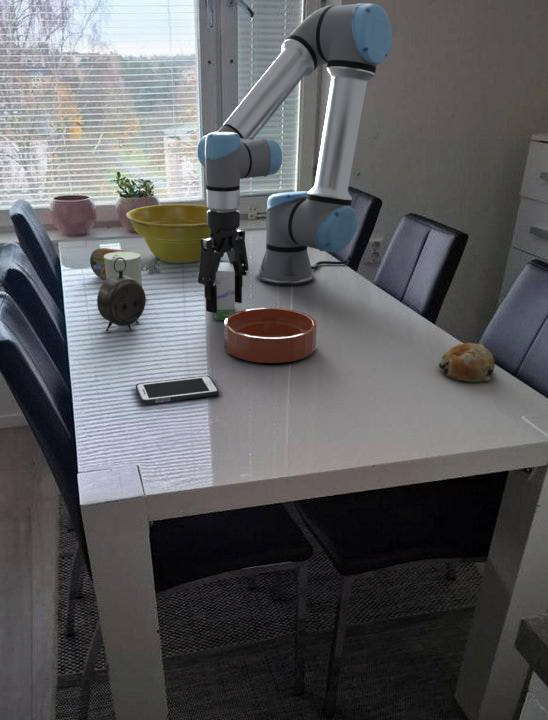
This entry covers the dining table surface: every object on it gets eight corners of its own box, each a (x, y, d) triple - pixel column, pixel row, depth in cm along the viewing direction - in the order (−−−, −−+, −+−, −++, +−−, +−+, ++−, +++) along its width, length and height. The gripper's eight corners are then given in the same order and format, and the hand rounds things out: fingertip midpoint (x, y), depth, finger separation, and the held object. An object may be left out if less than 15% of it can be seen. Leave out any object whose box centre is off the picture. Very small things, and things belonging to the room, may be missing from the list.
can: (100, 303, 171) (95, 255, 164) (122, 293, 177) (118, 247, 171) (130, 308, 167) (125, 259, 161) (151, 298, 174) (147, 251, 167)
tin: (91, 277, 191) (87, 247, 186) (97, 274, 193) (93, 244, 189) (136, 283, 186) (134, 252, 181) (142, 280, 188) (140, 249, 184)
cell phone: (220, 395, 124) (220, 390, 123) (141, 405, 120) (141, 400, 119) (209, 379, 130) (209, 374, 129) (135, 388, 126) (134, 383, 126)
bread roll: (470, 402, 130) (496, 372, 125) (428, 371, 132) (451, 340, 127) (484, 385, 138) (509, 355, 132) (444, 355, 139) (467, 325, 134)
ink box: (235, 320, 160) (235, 270, 154) (215, 320, 160) (214, 271, 153) (233, 309, 167) (233, 261, 161) (213, 309, 167) (212, 261, 161)
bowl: (259, 327, 156) (259, 302, 153) (331, 346, 146) (333, 319, 143) (206, 352, 143) (205, 325, 139) (281, 374, 133) (282, 345, 129)
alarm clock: (137, 320, 159) (131, 251, 151) (151, 326, 156) (146, 255, 147) (99, 331, 153) (90, 259, 144) (112, 337, 150) (105, 264, 141)
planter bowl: (251, 254, 214) (251, 210, 207) (191, 277, 191) (190, 228, 184) (172, 241, 229) (170, 200, 221) (108, 261, 206) (103, 215, 198)
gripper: (239, 200, 160) (239, 293, 172) (178, 214, 145) (183, 315, 157) (264, 204, 156) (262, 298, 168) (204, 219, 141) (207, 321, 153)
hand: (224, 306), depth 162 cm, fingers closed on ink box, 9 cm apart
